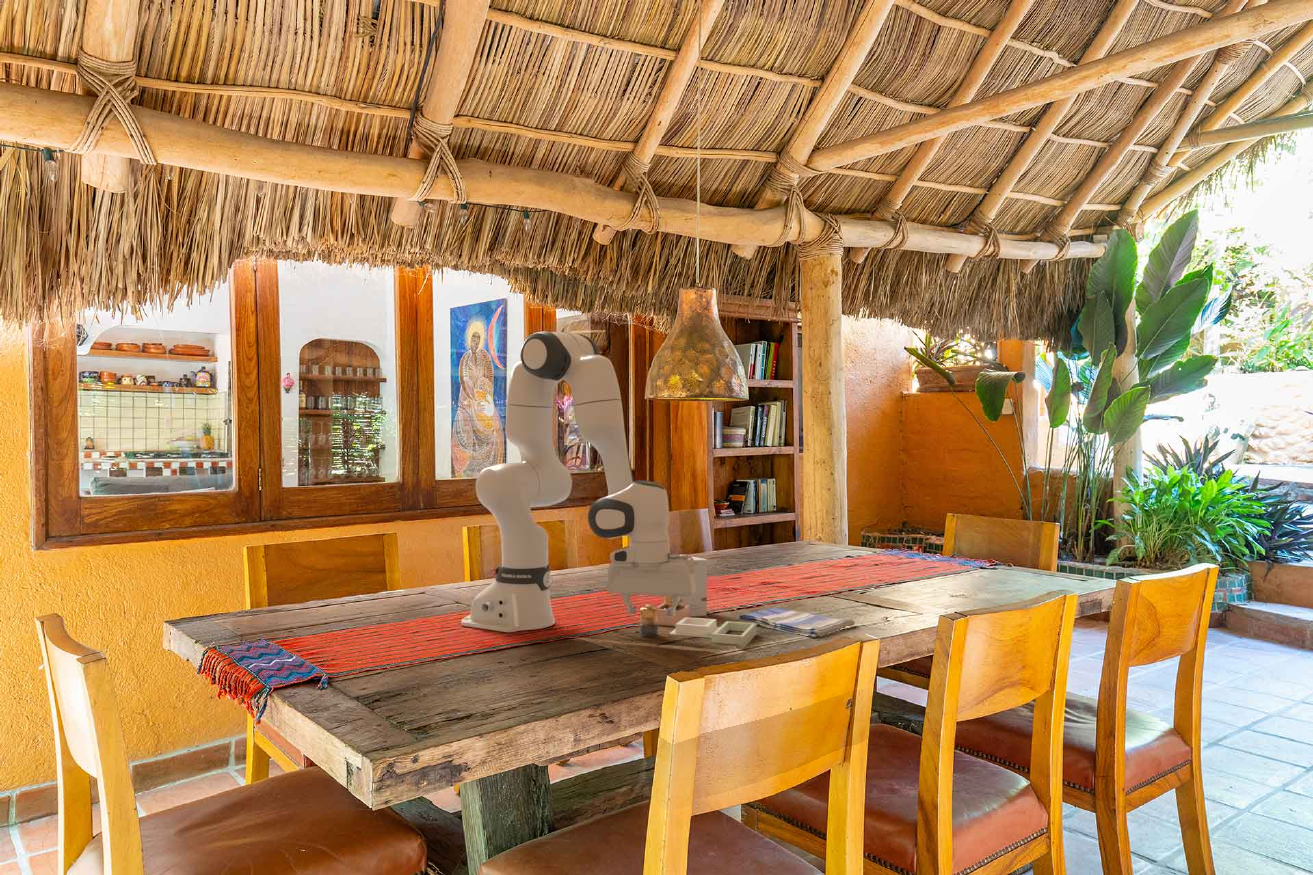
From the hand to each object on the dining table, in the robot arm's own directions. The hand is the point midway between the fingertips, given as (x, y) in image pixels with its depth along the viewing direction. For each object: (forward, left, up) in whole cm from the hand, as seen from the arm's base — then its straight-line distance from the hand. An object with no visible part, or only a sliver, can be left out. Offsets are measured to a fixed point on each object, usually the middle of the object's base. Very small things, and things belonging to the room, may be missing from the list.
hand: (651, 614), depth 194 cm
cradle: (+8, +8, -6) cm, 13 cm away
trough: (+18, +6, -6) cm, 19 cm away
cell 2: (0, +15, -5) cm, 15 cm away
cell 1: (-1, +1, -6) cm, 6 cm away
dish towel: (+28, +26, -6) cm, 39 cm away
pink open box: (0, +15, -6) cm, 16 cm away
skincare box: (+1, +25, -6) cm, 25 cm away
